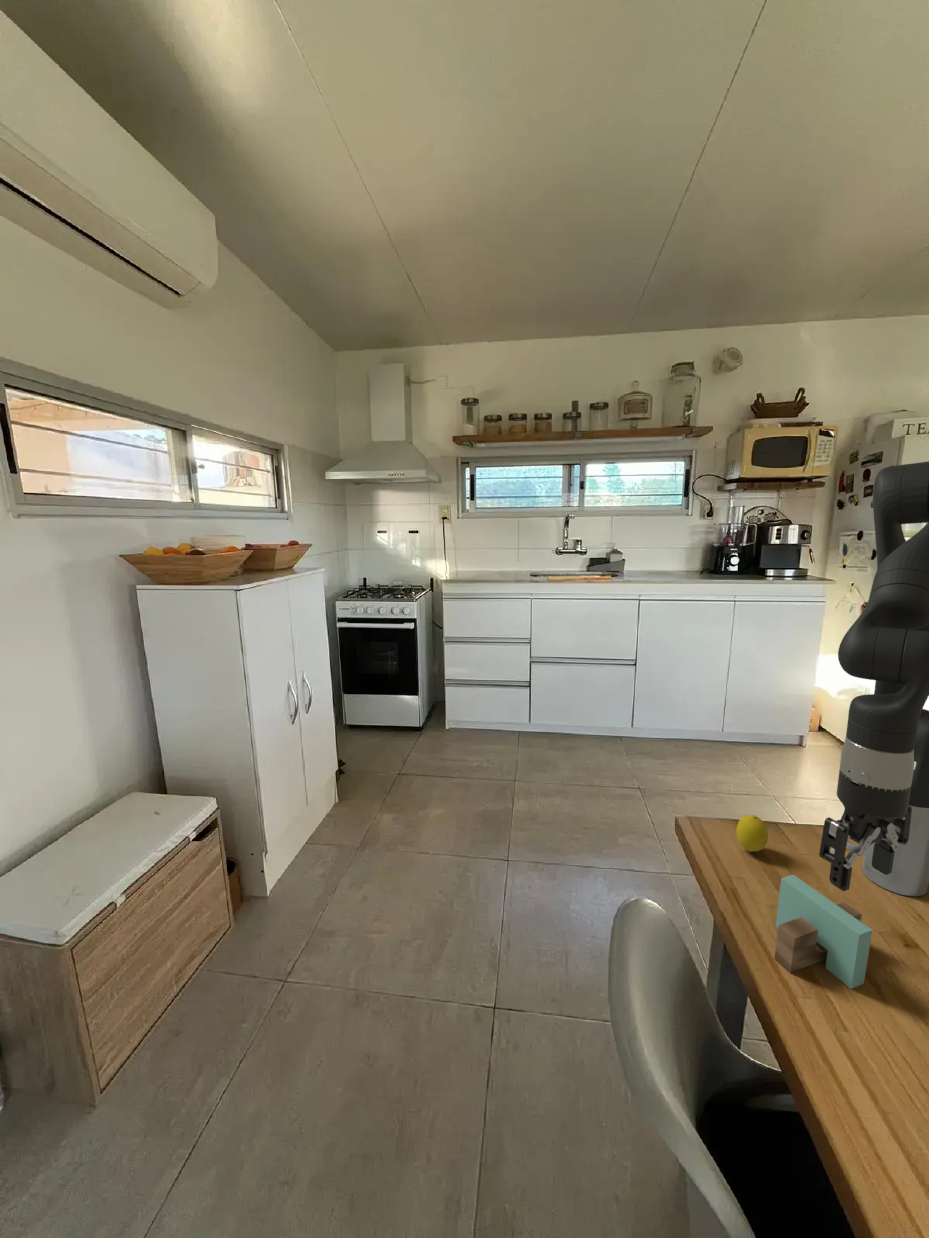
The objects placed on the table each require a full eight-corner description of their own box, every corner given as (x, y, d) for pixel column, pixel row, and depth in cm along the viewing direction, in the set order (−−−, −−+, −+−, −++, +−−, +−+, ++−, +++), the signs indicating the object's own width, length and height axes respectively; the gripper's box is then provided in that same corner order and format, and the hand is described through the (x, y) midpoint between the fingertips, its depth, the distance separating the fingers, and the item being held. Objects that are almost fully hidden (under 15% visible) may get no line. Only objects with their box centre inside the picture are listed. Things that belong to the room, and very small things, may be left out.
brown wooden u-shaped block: (839, 934, 81) (844, 901, 80) (856, 946, 78) (861, 913, 77) (774, 958, 76) (778, 924, 75) (790, 973, 74) (794, 938, 73)
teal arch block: (775, 926, 82) (781, 878, 81) (787, 922, 83) (793, 874, 82) (850, 989, 71) (859, 934, 70) (863, 983, 72) (872, 929, 70)
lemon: (770, 861, 98) (774, 824, 96) (739, 858, 99) (743, 822, 98) (760, 844, 103) (763, 809, 102) (731, 841, 104) (734, 806, 103)
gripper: (880, 751, 73) (866, 850, 76) (809, 770, 68) (797, 874, 72) (942, 775, 66) (924, 883, 69) (868, 798, 61) (852, 911, 65)
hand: (860, 878), depth 70 cm, fingers open, 8 cm apart
